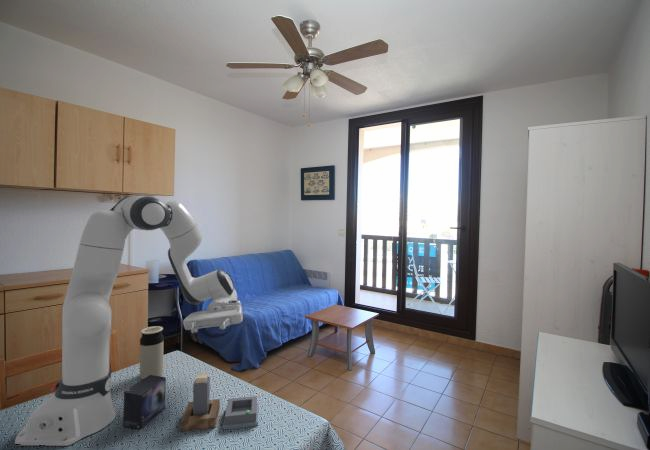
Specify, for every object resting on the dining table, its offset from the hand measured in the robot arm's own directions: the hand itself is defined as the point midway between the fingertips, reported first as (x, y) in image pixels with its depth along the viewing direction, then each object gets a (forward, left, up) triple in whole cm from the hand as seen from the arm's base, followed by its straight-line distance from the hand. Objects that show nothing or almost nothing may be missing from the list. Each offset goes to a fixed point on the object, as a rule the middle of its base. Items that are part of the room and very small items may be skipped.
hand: (207, 329), depth 103 cm
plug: (0, -10, -24) cm, 26 cm away
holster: (0, -10, -24) cm, 26 cm away
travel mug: (-24, +21, -25) cm, 40 cm away
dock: (+12, -11, -24) cm, 29 cm away
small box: (-17, -6, -25) cm, 30 cm away
